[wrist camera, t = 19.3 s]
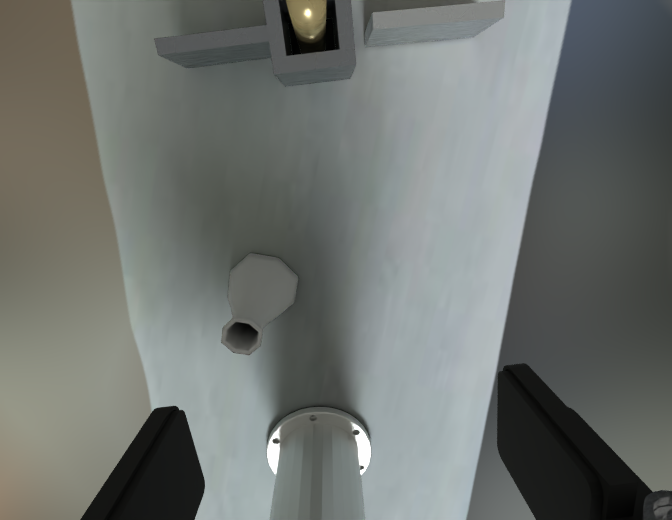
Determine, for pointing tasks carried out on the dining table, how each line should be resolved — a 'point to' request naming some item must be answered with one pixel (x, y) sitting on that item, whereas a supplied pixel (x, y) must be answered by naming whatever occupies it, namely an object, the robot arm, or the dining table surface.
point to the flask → (256, 300)
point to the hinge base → (270, 46)
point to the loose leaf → (432, 23)
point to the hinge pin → (309, 24)
